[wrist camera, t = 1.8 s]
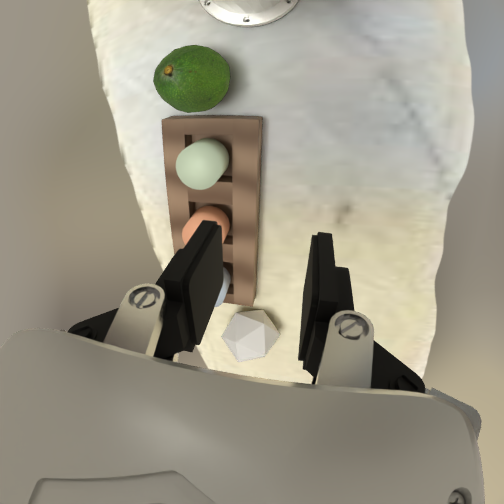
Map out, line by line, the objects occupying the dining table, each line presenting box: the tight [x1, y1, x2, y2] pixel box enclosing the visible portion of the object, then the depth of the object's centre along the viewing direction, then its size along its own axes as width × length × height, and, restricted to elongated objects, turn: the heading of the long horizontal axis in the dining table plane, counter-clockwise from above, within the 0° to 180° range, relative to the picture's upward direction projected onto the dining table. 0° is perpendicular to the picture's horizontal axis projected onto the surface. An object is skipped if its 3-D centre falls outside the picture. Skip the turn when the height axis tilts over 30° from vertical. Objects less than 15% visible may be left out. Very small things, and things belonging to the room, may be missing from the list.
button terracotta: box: [182, 206, 230, 245], centre depth 38 cm, size 5×5×4 cm
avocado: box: [153, 45, 230, 113], centre depth 27 cm, size 8×8×12 cm
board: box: [162, 115, 262, 307], centre depth 41 cm, size 28×12×3 cm, turn 179°
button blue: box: [215, 267, 231, 307], centre depth 43 cm, size 5×5×4 cm
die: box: [221, 309, 280, 362], centre depth 49 cm, size 8×9×10 cm
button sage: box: [176, 138, 229, 190], centre depth 33 cm, size 5×5×4 cm
